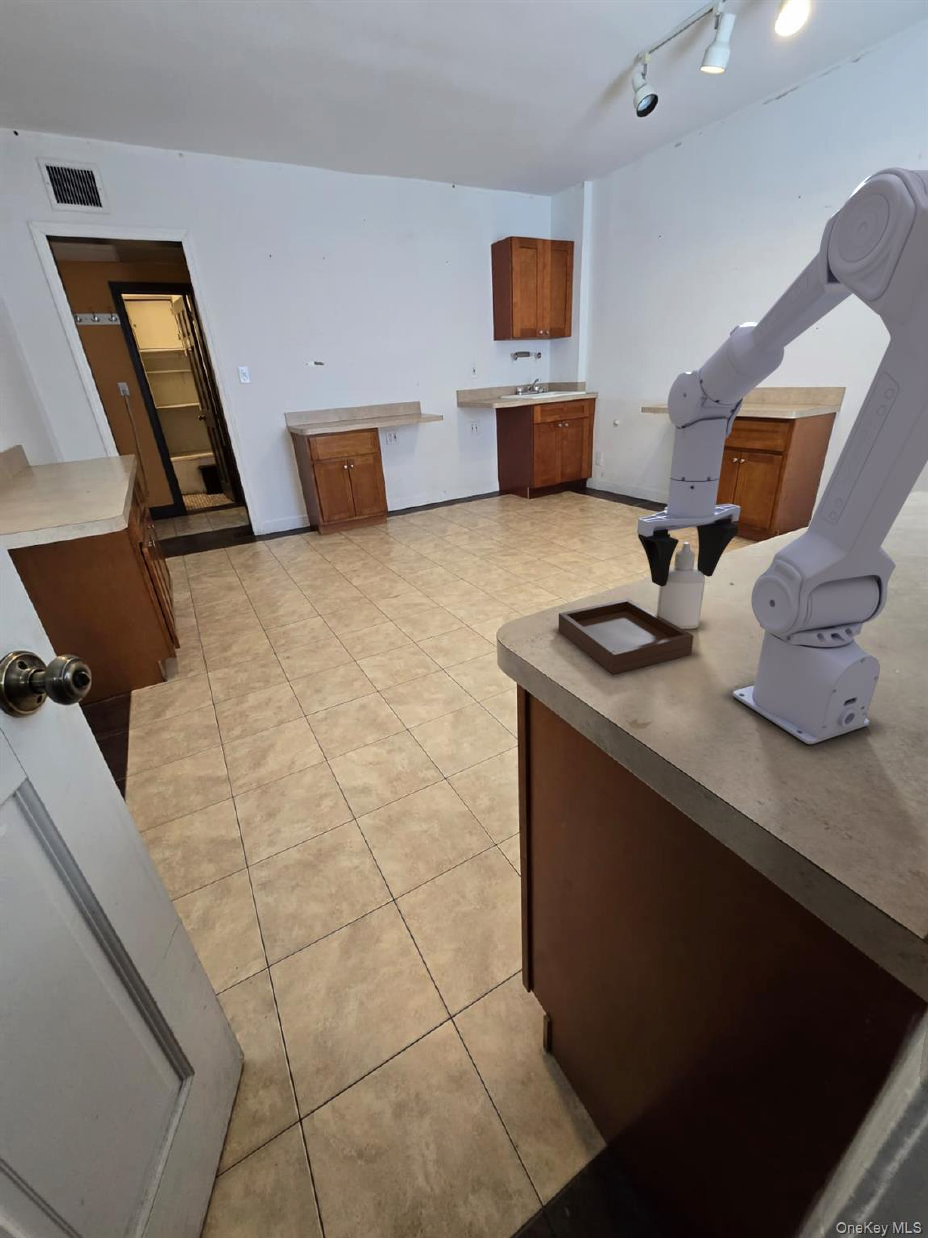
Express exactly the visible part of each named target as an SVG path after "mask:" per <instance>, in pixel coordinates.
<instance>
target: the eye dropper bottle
mask: <svg viewBox="0 0 928 1238" xmlns="http://www.w3.org/2000/svg"><path fill="white" fill-rule="evenodd" d="M695 559H696V553H695V552H694V551H693V550H691V545H690V542H687V541H684V542H683V544H682V548H681V549H680V550H677V551H676V552H675V556H674V567H670V568H669V575H668V580H667V583H666V586H659V589H658V597H657V607H656V608H657V609H656V615H658V616H660V617H662V618H663V619H665V620H667V621H669V622H670V623H672V624H674V625H676V626H678V627H679V628H681V629H683V630H690V629H697V628H698V627H699V625H700V621H701V614H702V613H701V612H702V607H703V599H704V592H705V584H706V576H705V575H704V574H703V573H702V572H701V571H699V570H698V569H697V568H695Z"/></svg>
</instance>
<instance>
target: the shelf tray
mask: <svg viewBox="0 0 928 1238" xmlns="http://www.w3.org/2000/svg"><path fill="white" fill-rule="evenodd" d="M558 631H559V632H560V633H561V634H563V635H564V636H565V637H566V638H567V639H569V640H570V641H571V642H572V643H573V644H575V645H576V646H577V647H578V648H580V650H582V651H583V652H584V653H586V654H587V655H588V656H589V657H590V658H592V659H593V660H594V661H596V662H597V663H598V664H599V665H601V667H603V668H604V669H605V670H607V672H609V673H610V674H612V675H616V674H620V673H624V672H627V671H631V670H635V669H641V668H643V667H648V666H650V665H655V664H659V663H663V662H666V661H667V662H668V661H670V660H674V659H678V658H683V657H686V656H690V655H692V652H693V646H694V637H695V636H694V634H692V633H690V632H688V631H686V629H681V628H679V627H678V626H676V625H674V624H672V623H670V622H669V621H667V620H665V619H663V618H662V617H660V616H658V615H657V613H655V612H653V611H651V610H649V609H647V608H646V607H645V606H642V605H641V604H639V603H637V602H635V601H634V600H632V599H630V598H625V599H620V600H614V601H611V602H606V603H603V604H602V603H601V604H597V605H592V606H587V607H582V608H578V609H577V608H576V609H573V610H569V611H563V612H559V613H558Z"/></svg>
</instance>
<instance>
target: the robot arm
mask: <svg viewBox="0 0 928 1238" xmlns="http://www.w3.org/2000/svg"><path fill="white" fill-rule="evenodd" d="M852 295H854V296H856V298H858V299H859V300H860V301H861V302H863V304H865V306H867V307H868V308H869V309H870V310H871V311H873V312H874V313H875V314H876V315H878V316H879V317H880V319H881V321H882V323H883V325H884V326H885V328H886V330H887V332H888V334H889V338H890V339H889V342H888V344H887V347H886V349H885V351H884V353H883V356H882V359H881V360H880V363H879V365H878V368H877V370H876V373H875V374H874V377H873V378H872V381H871V383H870V386H869V388H868V391H867V393H866V394H865V397H864V399H863V401H862V404H861V406H860V409H859V411H858V413H857V416H856V417H855V420H854V423H853V425H852V427H851V429H850V431H849V433H848V437H847V439H846V441H845V443H844V446H843V447H842V450H841V452H840V454H839V457H838V460H837V462H836V464H835V465H834V468H833V471H832V472H831V475H830V477H829V480H828V482H827V484H826V487H825V489H824V491H823V494H822V496H821V498H820V500H819V503H818V504H817V507H816V510H815V512H814V514H813V516H812V519H811V521H810V523H809V526H808V528H807V529H806V531H805V532H804V533H802V535H800V536H799V537H796V538H795V539H794V540H792V541H791V542H790V543H788V544H787V545H785V546H784V547H783V548H781V549H780V550H778V551H777V552H776V553H775V554H774V557H773V558H772V561H771V563H770V565H769V566H768V568H767V569H766V570H765V571H764V572H763V573H762V574H760V575H759V576H758V578H757V579H756V581H754V585H753V587H752V591H751V600H750V601H751V609H752V612H753V614H754V617H755V618H756V621H757V622H758V624H759V627H760V628H762V630H765V631H764V635H763V639H762V644H761V650H760V654H759V658H758V664H757V669H756V674H755V679H754V684H753V685H750V686H746V687H743V688H739V689H736V690H734V691H732V697H734V698H735V699H737V701H740V702H741V703H743V704H744V705H746V706H747V707H749V708H751V709H752V710H753V711H755V712H757V713H758V714H760V715H761V716H763V717H765V718H766V719H768V720H769V721H771V722H773V723H774V724H776V725H777V726H779V727H780V728H781V729H783V730H785V731H786V732H788V733H789V734H791V735H792V736H794V737H796V738H797V739H799V740H800V741H802V742H803V743H804V744H808V745H814V744H817V743H820V742H823V741H826V740H829V739H831V738H835V737H837V736H840V735H843V734H847V733H850V732H852V731H855V730H858V729H861V728H864V727H867V726H869V724H870V720H869V719H868V718H867V715H868V712H869V708H870V706H871V702H872V699H873V696H874V694H875V693H874V692H875V690H876V687H877V684H878V681H879V677H880V672H881V666H880V662H879V660H878V659H877V658H876V657H875V656H873V655H871V654H869V652H867V651H865V650H864V649H863V648H862V647H861V646H860V645H859V644H858V643H857V642H856V640H855V639H854V638H855V637H856V636H858V635H861V633H862V629H863V626H864V624H866V623H870V622H871V621H872V620H875V619H876V618H877V617H879V615H881V613H882V612H883V610H884V609H885V607H886V604H887V599H888V585H889V581H890V578H891V576H892V574H893V573H894V571H895V569H896V567H897V564H896V563H895V562H894V560H893V559H892V557H891V556H890V555H889V553H887V552H886V551H885V549H883V548H882V545H883V543H884V541H885V539H886V538H887V536H888V534H889V532H890V530H891V528H892V527H893V525H894V523H895V521H896V519H897V518H898V516H899V514H900V512H901V510H902V508H903V506H904V504H905V503H906V501H907V499H908V498H909V496H910V494H911V492H912V490H913V488H914V487H915V484H916V483H917V481H918V479H919V477H920V475H921V474H922V472H923V471H924V468H925V467H926V464H927V463H928V169H915V170H914V169H908V168H904V167H903V168H902V167H894V166H893V167H887V168H884V169H882V170H878V171H877V172H875V173H873V174H871V175H869V176H868V177H867V178H866V179H864V180H863V181H861V183H860V184H858V186H856V188H855V189H854V191H852V192H851V194H850V195H849V196H848V198H847V199H846V201H845V202H844V204H843V206H842V207H840V208H839V209H838V210H837V211H836V212H835V213H834V214H833V215H831V216H830V217H829V219H827V221H826V223H825V226H824V229H823V233H822V236H821V240H820V244H819V250H818V251H817V253H815V255H814V256H813V257H812V258H811V260H809V262H808V263H807V265H805V267H804V268H803V269H802V270H801V272H800V273H798V275H797V276H796V277H795V279H793V281H792V282H791V283H790V284H789V286H788V287H787V288H786V289H785V290H784V292H783V293H782V294H781V295H780V296H779V298H778V299H777V300H776V301H775V302H774V304H772V306H771V307H770V308H769V309H768V310H767V312H766V313H765V314H764V315H763V316H762V317H761V319H760V320H759V321H750V322H744V323H743V324H741V325H736V326H735V327H734V328H733V329H732V330H731V332H729V337H728V338H727V339H726V340H725V341H724V342H723V343H722V344H721V345H720V346H719V347H718V348H717V350H716V351H715V352H714V353H713V354H712V355H711V356H710V357H709V358H708V359H707V360H706V361H705V362H704V364H702V365H701V367H700V368H699V369H693V370H692V372H690V371H689V372H688V371H685V372H681V373H679V374H678V375H677V377H676V378H675V380H674V381H673V383H672V385H671V386H670V389H669V392H668V397H667V414H668V418H669V420H670V421H671V423H672V424H673V425H674V426H675V428H674V437H673V445H672V446H673V448H672V457H671V466H670V475H669V484H668V485H669V486H668V497H667V505H666V507H664V510H663V511H659V512H657V513H654V514H652V515H648V516H645V517H640V518H637V531H636V533H637V537H638V540H639V542H640V543H641V545H642V548H643V550H644V552H645V555H646V558H647V561H648V565H649V570H650V576H651V582H652V583H654V584H655V585H657V586H659V587H660V586H666V583H667V580H668V575H669V569H670V568H671V564H672V563H671V562H672V559H673V556H674V552H675V551H676V548H677V546H678V544H679V542H680V541H679V539H677V538H675V537H672V536H671V533H669V532H672V531H676V530H682V529H688V528H693V527H696V530H697V537H698V539H697V541H698V553H697V562H696V563H697V564H696V565H697V566H696V567H697V568H696V570H699V571H701V572H702V573H703V574H704V577H708V578H709V577H713V574H714V572H715V570H716V568H717V566H718V564H719V561H720V559H721V557H722V555H723V553H724V551H725V550H726V548H727V547H728V545H729V544H730V542H731V541H732V540H733V539H734V538H735V537H736V535H738V533H739V529H740V526H739V525H738V524H736V523H733V522H738V521H739V518H740V512H741V506H739V505H736V504H731V503H725V504H724V503H723V504H717V500H718V499H717V497H718V492H719V485H720V478H721V470H722V463H723V457H724V449H725V442H726V439H727V438H729V436H730V434H731V433H732V428H733V423H734V421H735V419H736V417H737V416H738V414H739V412H740V410H741V408H742V405H743V401H744V398H745V397H746V396H747V395H748V394H749V393H750V392H751V391H753V390H754V389H755V388H756V387H757V386H759V385H760V384H761V383H762V382H763V381H764V380H765V379H767V378H768V377H769V376H770V375H772V374H773V373H774V372H775V371H776V370H778V369H779V367H780V366H781V364H782V362H783V360H784V356H785V347H787V346H788V345H789V344H791V342H793V341H795V340H796V339H797V338H798V337H800V336H801V335H802V334H803V333H804V332H806V331H807V330H808V329H810V328H811V327H812V326H813V325H815V324H816V323H817V322H818V321H820V320H821V319H823V317H825V316H826V315H827V314H829V313H830V312H831V311H833V310H834V309H835V308H836V307H838V306H839V305H840V304H841V303H843V302H844V301H845V300H847V299H848V298H849V297H851V296H852Z"/></svg>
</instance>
